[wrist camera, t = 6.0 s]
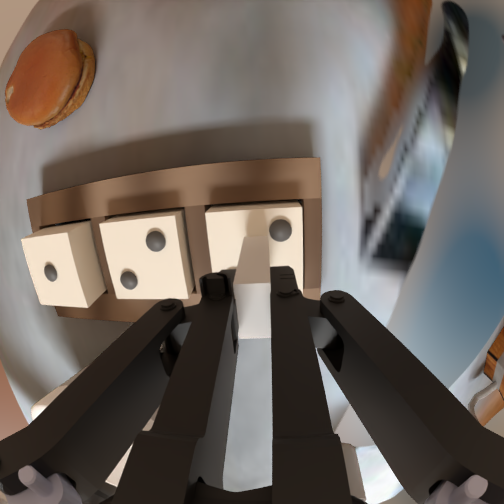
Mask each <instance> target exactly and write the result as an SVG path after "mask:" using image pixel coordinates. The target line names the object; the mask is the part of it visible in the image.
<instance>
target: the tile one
mask: <svg viewBox="0 0 504 504" xmlns="http://www.w3.org/2000/svg"><path fill="white" fill-rule="evenodd" d="M21 241H22V245H23V249H24V253H25V257H26V260H27V264H28V267H29V271H30V274H31V277H32V280H33V283H34V286H35V289H36V292H37V295H38V298H39V301H40V303H41V304H42V305H54V306H67V307H83V308H89V307H90V306H91V305H92V304H93V303H94V302H95V301H96V300H97V299H98V298H99V297H100V296H101V295H102V294H103V293H104V292H105V291H106V290H107V287H106V283H105V279H104V276H103V272H102V268H101V264H100V260H99V256H98V252H97V247H96V243H95V238H94V233H93V228H92V223H91V221H84V222H77V223H71V224H64V225H58V226H52V227H46V228H44V229H41V230H39V231H37V232H35V233H33V234H31V235H29V236H27V237H24V238H22V239H21Z"/></svg>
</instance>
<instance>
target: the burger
mask: <svg viewBox="0 0 504 504" xmlns="http://www.w3.org/2000/svg"><path fill="white" fill-rule="evenodd" d="M94 73H95V58H94V54H93V51H92V48H91V47H90V46H89V44H87V43H85V42H83V41H81V40H80V39H77V34H76V33H75V32H74V31H72V30H68V29H63V30H56V31H52V32H49V33H46V34H43V35H41V36H39V37H37V38H36V39H35V40H33V41H32V42H31V43H30V44H29V45H28V46H27V47H26V48H25V50H24V51H23V52H22V54H21V55H20V57H19V60H18V62H17V65H16V67H15V69H14V71H13V73H12V75H11V77H10V79H9V81H8V83H7V86H6V90H5V96H6V99H5V102H6V106H7V110H8V112H9V114H10V116H11V117H12V118H13V119H14V120H15V121H17V122H18V123H20V124H23V125H27V126H30V125H33V126H34V128H38V129H44V128H46V127H50V126H53V125H55V124H56V123H58V122H59V121H61V120H63V119H65V118H66V117H67V116H69V115H70V114H71V113H73V111H74V110H76V109H78V108H79V107H80V106H81V105H82V103H83V102H84V100H85V98H86V96H87V94H88V91H89V89H90V87H91V85H92V82H93V79H94Z"/></svg>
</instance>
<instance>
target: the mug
mask: <svg viewBox="0 0 504 504" xmlns="http://www.w3.org/2000/svg"><path fill="white" fill-rule="evenodd" d="M484 374H485V375H486V376H487V377H488V378H489V379H490V380H491V381H492V382H493V383H491V384H490V385H489V386H487V387H486V388H485V389H483V390H481V391H480V392H478V393H476V394H475V395H474V396H473V398H472V399H471V401H470V403H469V404H468V411H469V412H470V413H471V414H472V415H473V416H474V417H475V418H476V420H477V421H478V419H477V417H476V416H475V412H474V406H475V405H476V403H477V402H478V400H480V399H482V398H483V397H485V396H487V395H489V394H490V393H491V392H493V391H494V390H495V389H498V390H499V392H500V394H501V396H502V398H503V400H504V327H503V329H502V330H501V332H500V334H499V335H498V337H497V338H496V340H495V341H494V343H493V345H492V346H491V348H490V349H489V350H488V352H487V358H486V363H485V369H484ZM478 422H479V421H478Z"/></svg>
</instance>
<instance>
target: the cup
mask: <svg viewBox="0 0 504 504" xmlns="http://www.w3.org/2000/svg"><path fill="white" fill-rule="evenodd" d="M341 444H342V449H343V454H344V460H345V465H346V470H347V476H348V482H349V487H350V493H351V495H353V496H355V497H357V498H359V499H361V500H363V501H364V502H365V501H366V496H365V491H364V487H363V482H362V477H361V472H360V468H359V463H358V459H357V455H356V450H355V447H354V446H352V445H351V444H346V443H341Z"/></svg>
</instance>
